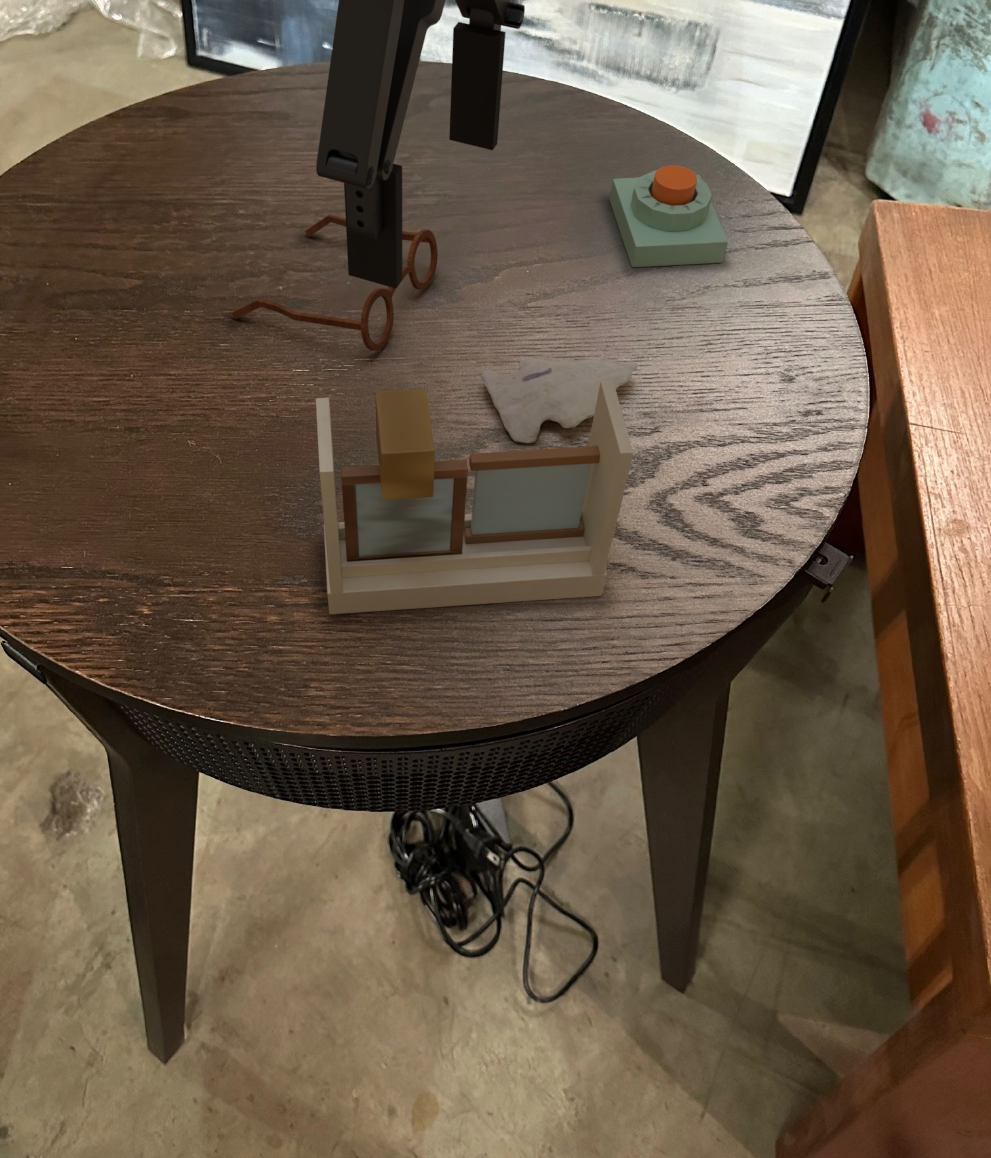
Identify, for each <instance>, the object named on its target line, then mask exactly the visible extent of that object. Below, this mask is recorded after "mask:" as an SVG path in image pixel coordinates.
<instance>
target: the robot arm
mask: <svg viewBox="0 0 991 1158" xmlns="http://www.w3.org/2000/svg"><path fill="white" fill-rule="evenodd" d="M454 1H455V3H456V5H457V8H458V10H459V13H460V15H461V17H462V18H465V19H469V20H468V22H469V23H466V22H461V21H458V22H457V23H456V24H455V25H454V27H453V30H452V54H451V55H452V57H451V79H450V80H451V81H450V109H449V110H450V111H449V135H448V136H449V141H453V142H456V143H461V144H465V145H469V146H473V147H476V148H481V149H485V150H489V151H494V149H495V148H496V146H497V145H498V139H499V128H500V127H499V126H500V114H501V113H500V112H501V100H502V85H503V73H504V60H505V59H504V58H505V44H506V31H504V30H502V27H506V28H511V29H515V30H519V29H521V27H522V24H523V22H524V18H525V14H526V11H525V10H526V7H525V4H521V3H520V4H519V3H514V2H512V1H511V0H454ZM445 4H446V0H338V4H337V11H336V19H335V26H334V34H333V40H332V48H331V55H330V62H329V70H328V77H327V83H326V91H325V98H324V105H323V114H322V121H321V129H320V134H319V135H320V136H319V140H318V141H319V142H318V150H317V156H316V163H315V165H316V166H315V170H316V174H317V176H318V177H322V178H325V179H329V180H331V181H336V182H340V183H343V190H344V191H343V192H344V211H345V213H344V214H345V219H346V227H345V229H346V230H345V231H346V234H345V235H346V254H347V270H348V272H347V273H348V276H350V277H353V278H358V279H361V280H365V281H368V282H371V283H375V284H378V285H381V286H385V287H392V288H396V290H397V289H398V287H399V286H400V284H401V283H402V282H403V280H402V267H403V240H402V231H403V165H401V164H396V163H394V162H395V158H396V154H397V150H398V146H399V144H400V143H399V142H400V138H401V136H402V131H403V127H404V123H405V120H406V114H407V112H408V107H409V103H410V99H411V95H412V91H413V87H414V83H415V79H416V76H417V72H418V68H419V63H420V60H421V55H422V52H423V48H424V43H425V41H426V36H427V32H428V30H429V29H430V27H433V26H434V25H437V24H438V23H439V22H440V20H441V19H442V16H443V12H444V8H445ZM401 281H402V282H401Z"/></svg>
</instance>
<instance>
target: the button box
mask: <svg viewBox="0 0 991 1158" xmlns="http://www.w3.org/2000/svg"><path fill="white" fill-rule="evenodd" d="M657 170H658V169H655V170H652V171H649V172H648V173H646V174H644V175H641V176H640V177H623V178H622V177H621V178H612V182H611V189H610V194H609V202H610V205H611V208H612V211H613V215H614V217H615V220H616V224H617V227H618V230H619V233H620V236H621V239H622V241H623V245H624V248H625V251H626V254H627V257H628V259H629V263H630V266H631V268H645V267H646V268H647V267H664V266H665V267H666V266H685V265H702V264H703V265H704V264H720V263H721V264H722V263H723V261H724V259H725V254H726V250H727V247H728V244H729V241H728V238H727V236H726V234H725V231H724V228H723V227H722V226H723V225H722V224H721V222H720V219H719V217H718V214H717V211H716V210H715V207H714V205H713V203H712V198H713V194H712V192H711V189H710V187H709V185H708V183H707V182H706V181H704V180H703V179H702V177H701V175H700V174H696V176H697V183H696V188H695V192H694V196H693V199H692V201H691V202H690V203H688V204H686V205H677V206H671V205H667V204H664V203H660V202H658V201H657V200H656V199H654V198H653V197H652V194H651V191H652V186H653V181H654V177H655V173H656V171H657Z"/></svg>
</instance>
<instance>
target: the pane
mask: <svg viewBox="0 0 991 1158" xmlns="http://www.w3.org/2000/svg"><path fill="white" fill-rule="evenodd" d="M427 390H428V389H426V388H415V389H414V388H413V389H399V390H398V389H397V390H382V391H375V393H374V394H375V395H374V397H375V433H376V435H375V436H376V437H375V438H376V439H375V440H376V446H377V447H376V448H377V450H376V451H377V459H378V464H374V465H358V466H343V467H340V479H341V480H340V481H341V495H342V509H343V522H344V526H345V541H346V556H347V562H352V561H367V560H382V559H397V558H412V557H427V556H442V555H457V554H462V549H463V535H464V521H465V514H466V506H467V505H466V504H467V490H468V476H469V466H468V461H467V459H458V460H457V459H455V460H439V461H435V459H436V458H435V457H436V447H435V441H434V440H435V439H434V434H433V433H434V432H433V427H432V420H431V413H430V404H429V399H428V392H427Z"/></svg>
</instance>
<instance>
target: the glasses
mask: <svg viewBox="0 0 991 1158" xmlns="http://www.w3.org/2000/svg"><path fill="white" fill-rule="evenodd" d="M331 223H332V224H335V225H339V226H343V227H345V228H346V217H340V216H338V215H337V216H336V215H334V214H333V215H332V214H328V215H327V216H325V217H324V218H322V219H321V220H319V221H318V222H316V223H315V224H314V225H312V226H310V227H309V228H307V229H306V230H304V233H305V234H306V236H307V237H308V238H310V237H311V236H313V235H314V234H316V233H317V232H318V231H320V230H322V229H323V228H324V227H326V226H328V225H330V224H331ZM402 241H411V243H410V246H409V250H408V255H407V258H406V260H407V261H406V266H402V281H401V283H402V282H403V281H404V279H405V278H406V276H408V277H409V281H410V283H411V285H412V287H413V288H414V289H415V290H420V291H423V290H425V289H426V288H428V287H429V285H430V284H431V282H432V281H433V278H434V276H435V273H436V270H437V265H438V257H439V255H438V254H439V253H438V245H437V240H436V237H435V235H434V233H433V231H431V230H430V229H421V230H419V231H418V232H414V231H403V230H402ZM421 243H427V244H428V245H429V250H430V263H429V267H428V271H427V273H426V276H425V277H424V278H422V279H423V280H421V281H420V280H419V278H418V276H417V273H416V267H415V260H416V254H417V251H418V248H419V246H420V244H421ZM387 287H388V288H379V287H377V288H375V289H374V290H372V291H371V293H369V295H368V296H367V298H366V300H365V301H364V304H363V307H362V310H361V314H360V320H355V319H349V318H341V317H335V316H327V315H321V314H314V313H308V312H301V311H295V310H293V309H291V308H288V307H286V306H284V305H282V304H280V303H278V302H274V301H271V300H267V299H262V298H257V299H255V300H253V301H251V302H249V303H247V304H245V305H243V306H241V307H239V308H237V309H235V310H233V311H232V312H231V315H232V316H233V318H234V319H235V320H237V319H239V318H241V317H243V316H245V315H247V314H249V313H251V312H254V311H255V310H258V309H260V308H263V309H266V310H268V311H269V310H270V311H273V312H276V313H278V314H281V315H283V316H285V317H287V318H288V319H291V320H293V321H296V322H303V323H308V324H309V323H311V324H317V325H323V326H329V327H336V328H341V329H342V328H343V329H349V330H357V331H360V333H361V334H360V335H361V338H362V342H363V344H364V346H365V348H366V349H368V351H373V352H377V351H380V350H381V349H383V348H384V346H385V345H386V344H387V342H388V341H389V339H390V337H391V334H392V331H393V327H394V321H395V320H394V317H395V315H394V313H395V311H394V303H393V297H394V294H395V291H396V290H397V289H396V288H392V287H389V286H387ZM380 297H381V298H382V299H383V301H384V304H385V310H386V319H385V320H386V321H385V327H384V330H383V332H382V335H381V336H380V337H379V339H378V340H377V341H375V342H374V341H373V340H372V337H371V334H370V330H369V317H370V312H371V310H372V307H373V305H374V304H375V302H376V301H377V300H378V298H380Z"/></svg>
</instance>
